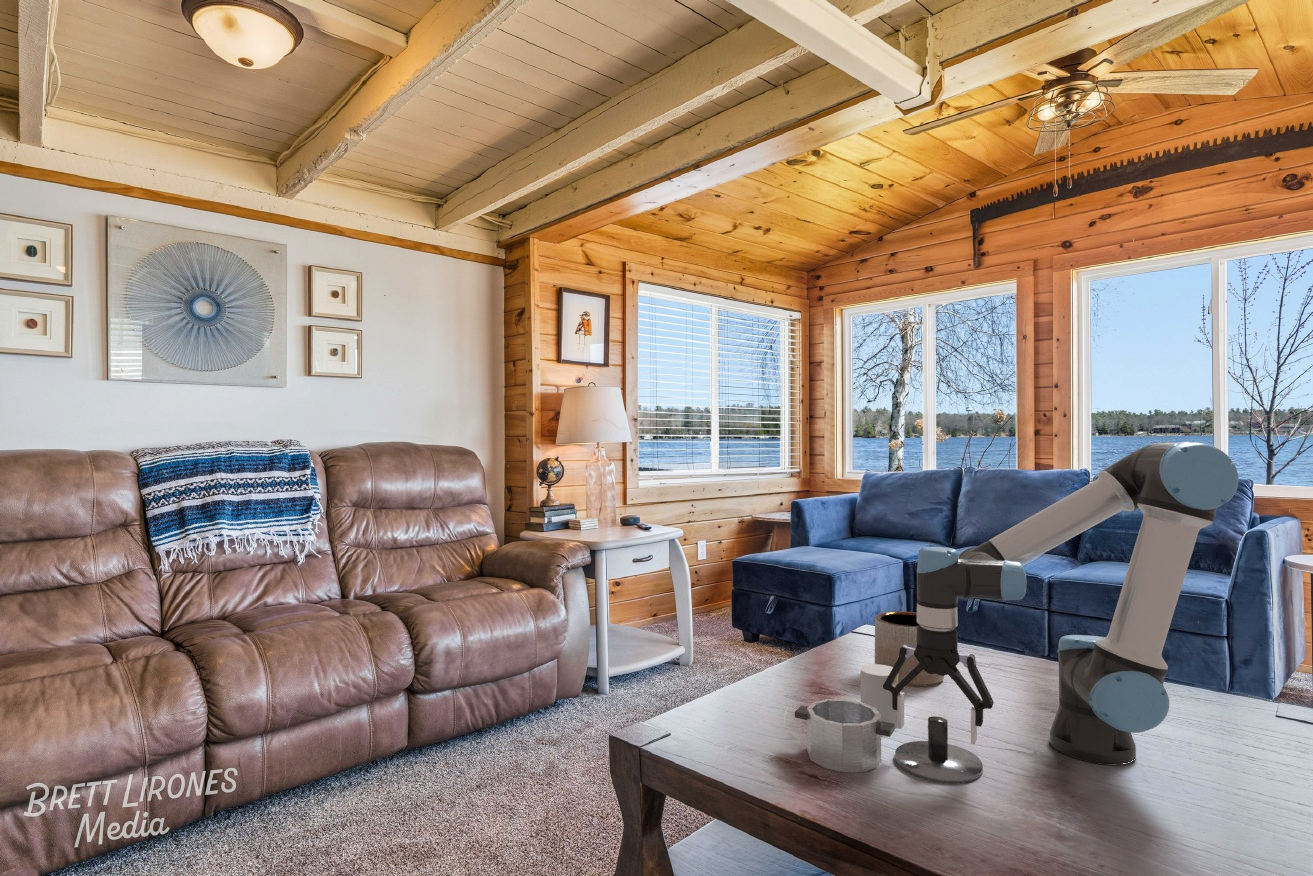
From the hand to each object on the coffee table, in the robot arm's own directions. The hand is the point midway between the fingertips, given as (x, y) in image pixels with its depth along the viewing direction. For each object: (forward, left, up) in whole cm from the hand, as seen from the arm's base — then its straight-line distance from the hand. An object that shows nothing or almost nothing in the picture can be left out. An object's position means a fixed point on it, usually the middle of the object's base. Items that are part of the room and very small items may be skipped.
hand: (936, 734), depth 140 cm
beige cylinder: (+15, -15, -6) cm, 22 cm away
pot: (+17, +6, -6) cm, 19 cm away
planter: (+16, -51, -6) cm, 54 cm away
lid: (0, 0, -6) cm, 6 cm away
